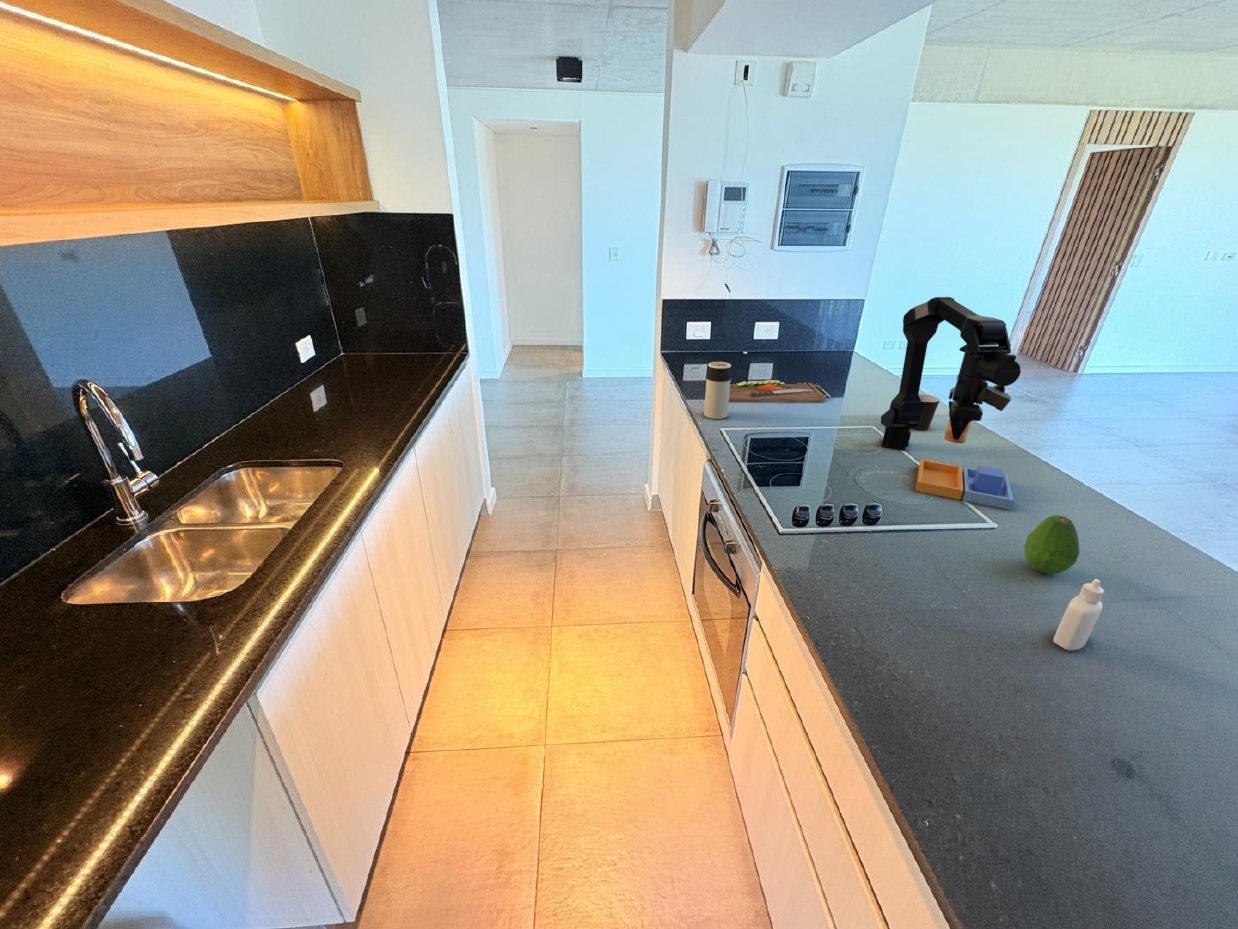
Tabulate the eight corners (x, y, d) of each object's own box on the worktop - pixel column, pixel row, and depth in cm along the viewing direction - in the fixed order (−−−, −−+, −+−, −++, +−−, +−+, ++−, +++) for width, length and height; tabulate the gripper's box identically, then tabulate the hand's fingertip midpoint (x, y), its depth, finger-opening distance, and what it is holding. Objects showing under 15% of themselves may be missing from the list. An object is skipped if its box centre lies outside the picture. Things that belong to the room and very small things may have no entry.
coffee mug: (936, 432, 167) (944, 402, 163) (906, 430, 169) (913, 401, 165) (924, 420, 178) (931, 391, 173) (896, 418, 179) (903, 390, 175)
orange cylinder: (944, 441, 130) (949, 422, 128) (944, 435, 134) (949, 416, 132) (965, 444, 128) (971, 425, 126) (965, 438, 132) (970, 419, 130)
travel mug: (717, 421, 177) (721, 368, 170) (699, 415, 183) (702, 364, 175) (732, 416, 182) (736, 364, 174) (714, 410, 187) (718, 360, 180)
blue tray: (962, 500, 127) (965, 490, 126) (961, 475, 139) (963, 466, 138) (1010, 510, 123) (1013, 500, 121) (1004, 483, 135) (1007, 474, 134)
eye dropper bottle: (1041, 631, 86) (1067, 571, 81) (1076, 632, 86) (1104, 572, 81) (1060, 651, 82) (1089, 589, 77) (1097, 652, 82) (1128, 590, 77)
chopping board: (813, 382, 219) (814, 375, 218) (835, 402, 195) (836, 394, 194) (704, 381, 221) (705, 374, 219) (713, 401, 196) (713, 393, 195)
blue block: (973, 491, 130) (979, 473, 128) (972, 483, 134) (978, 465, 132) (997, 496, 128) (1003, 477, 126) (996, 487, 132) (1002, 469, 129)
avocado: (1008, 564, 103) (1028, 511, 98) (1033, 555, 106) (1054, 503, 101) (1052, 588, 96) (1076, 532, 91) (1078, 577, 99) (1102, 522, 94)
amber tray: (915, 490, 131) (918, 481, 130) (918, 467, 144) (920, 459, 143) (960, 500, 127) (963, 490, 126) (959, 475, 139) (962, 466, 138)
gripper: (1019, 389, 113) (997, 455, 120) (1010, 369, 128) (991, 429, 134) (958, 382, 118) (941, 446, 125) (957, 364, 133) (941, 422, 139)
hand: (955, 436), depth 131 cm, fingers closed on orange cylinder, 4 cm apart
